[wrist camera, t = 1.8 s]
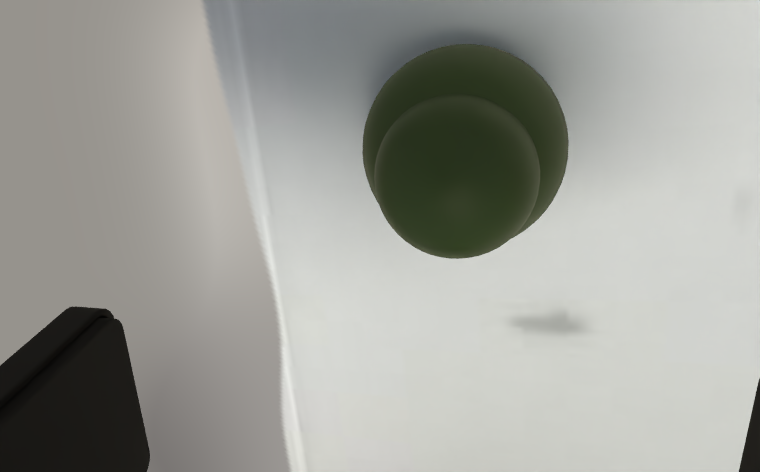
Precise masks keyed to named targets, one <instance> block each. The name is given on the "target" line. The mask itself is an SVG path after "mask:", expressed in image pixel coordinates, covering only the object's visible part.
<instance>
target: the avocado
mask: <svg viewBox="0 0 760 472" xmlns="http://www.w3.org/2000/svg"><path fill="white" fill-rule="evenodd" d="M567 159H568V132H567V126H566V122H565V118H564V114H563V112H562V109H561V107H560V104H559V102H558V99H557V98H556V96H555V94H554V92H553V91H552V89H551V87H550V86H549V85H548V84H547V82H546V81H545V80H544V79H543V77H542V76H541V75H540V74H539V73H538V72H537V71H535V70H534V69H533V68H532V67H531V66H529V65H528V64H527V63H525V62H524V61H523V60H521V59H519V58H517V57H516V56H514V55H512V54H510V53H508V52H505V51H502V50H500V49H497V48H493V47H489V46H484V45H475V44H456V45H450V46H444V47H440V48H437V49H434V50H430V51H428V52H426V53H424V54H421V55H419V56H417V57H416V58H414V59H413V60H411V61H409V62H408V63H406V64H405V65H404V66H403V67H402V68H400V69H399V70H398V71H397V72H396V73H394V74H393V75H392V76H391V78H390V79H389V80H388V81H387V82H386V83H385V84H384V86H383V87H382V89H381V90H380V92H379V93H378V95H377V97H376V99H375V101H374V103H373V105H372V107H371V109H370V111H369V114H368V117H367V120H366V124H365V129H364V135H363V162H364V168H365V172H366V176H367V179H368V182H369V185H370V187H371V190H372V192H373V194H374V196H375V198H376V200H377V202H378V203H379V205H380V208H381V210H382V212H383V214H384V216H385V218H386V220H387V221H388V223H389V224H390V226H391V227H392V228H393V229H394V230H395V231H396V233H397V234H398V235H399V236H401V237H402V238H403V239H404V240H405V241H406V242H408V243H409V244H411V245H412V246H414V247H415V248H417V249H419V250H421V251H423V252H426V253H428V254H431V255H434V256H438V257H444V258H457V259H459V258H469V257H474V256H479V255H482V254H485V253H488V252H490V251H492V250H494V249H496V248H498V247H500V246H501V245H503V244H504V243H506V242H507V241H508V240H509V239H511V238H513V237H515V236H517V235H518V234H520V233H521V232H523V231H524V230H526V229H527V228H528V227H529V226H531V225H532V224H533V223H534V222H535V221H536V220H537V219H538V218H539V217H540V216H541V215H542V214H543V213H544V212H545V211H546V209H547V208H548V206H549V205H550V204H551V202H552V201H553V199H554V197H555V195H556V193H557V191H558V189H559V187H560V185H561V183H562V180H563V177H564V174H565V170H566V164H567Z"/></svg>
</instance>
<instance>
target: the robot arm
mask: <svg viewBox="0 0 760 472" xmlns="http://www.w3.org/2000/svg"><path fill="white" fill-rule="evenodd" d="M149 461H150V453H149V447H148V442H147V437H146V433H145V428H144V423H143V418H142V414H141V409H140V404H139V400H138V396H137V391H136V386H135V381H134V376H133V372H132V367H131V362H130V358H129V353H128V348H127V344H126V339H125V334H124V330H123V326H122V324H121V322H120V321H119V320H117V319H114V316H113V315H112V313H111V312H110V311H109V310H107V309H99V308H87V307H70V308H68V309H66V310H65V311H64V312H62V313H61V314H60V315H59V316H58V317H57V318H55V319H54V320H53V321H52V322H51V323H50V324H48V325H47V326H46V327H45V328H44V329H43V330H41V331H40V332H39V333H38V334H37V335H36V336H34V337H33V338H32V339H31V340H30V341H29V342H27V343H26V344H25V345H24V346H23V347H22V348H20V349H19V350H18V351H17V352H16V353H14V354H13V355H12V356H11V357H10V358H9V359H7V360H6V361H5V362H4V363H3V364H2V365H1V366H0V472H147V469H148V466H149ZM739 472H760V379H759V382H758V387H757V391H756V396H755V400H754V405H753V410H752V414H751V419H750V423H749V428H748V432H747V437H746V442H745V446H744V451H743V455H742V460H741V464H740V469H739Z"/></svg>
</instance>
